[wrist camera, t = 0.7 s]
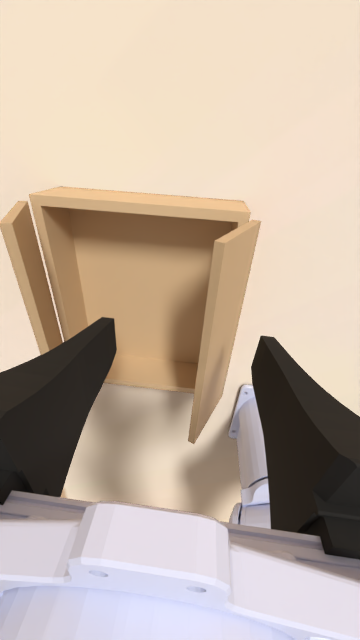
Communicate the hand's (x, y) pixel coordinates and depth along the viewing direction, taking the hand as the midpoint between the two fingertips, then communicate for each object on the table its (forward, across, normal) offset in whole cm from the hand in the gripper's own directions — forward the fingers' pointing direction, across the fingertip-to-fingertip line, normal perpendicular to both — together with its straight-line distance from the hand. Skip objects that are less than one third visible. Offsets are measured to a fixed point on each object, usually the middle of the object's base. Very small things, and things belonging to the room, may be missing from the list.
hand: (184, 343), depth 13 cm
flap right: (+4, -2, +3) cm, 5 cm away
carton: (+10, +4, +3) cm, 11 cm away
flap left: (+4, +9, +3) cm, 11 cm away
